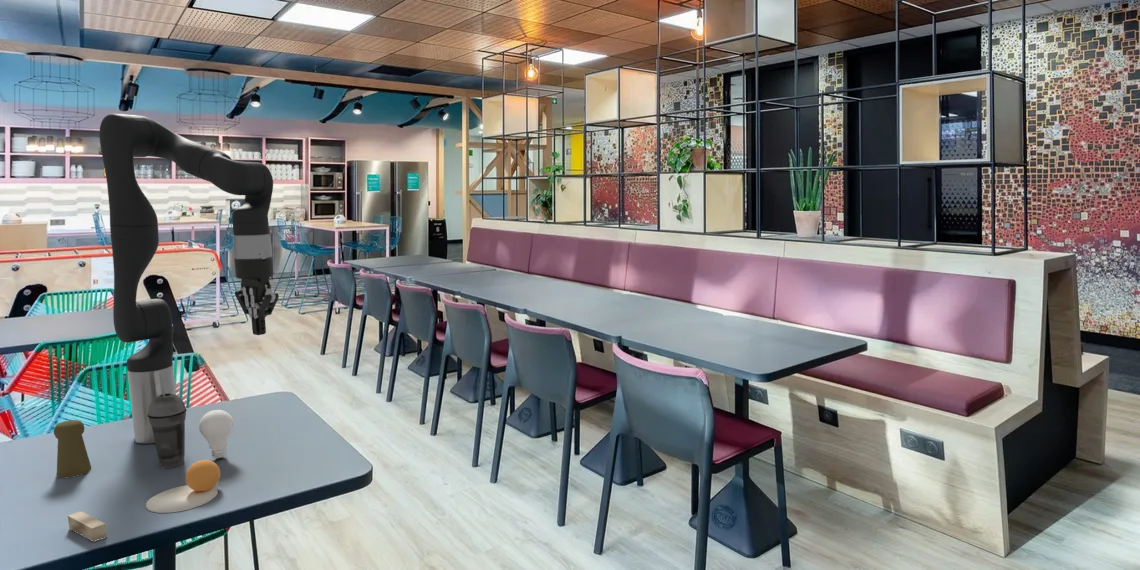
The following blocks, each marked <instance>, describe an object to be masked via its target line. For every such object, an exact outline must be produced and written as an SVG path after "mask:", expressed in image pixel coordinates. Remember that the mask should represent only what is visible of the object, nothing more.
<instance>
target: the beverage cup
mask: <svg viewBox="0 0 1140 570" xmlns="http://www.w3.org/2000/svg"><path fill="white" fill-rule="evenodd" d="M159 376H160V383H161V389H162V395H159V396H158V397H156V398H155V399H154V400H153V401H152V402H151V404H150V406H149V409H148V417H149V421H150V424H151V426H152V430H153V435H154V440H155V443H154V444H155V449H156V454H157V457H158V458H157V459H158V461H159V465H160V468H161V469H173V468H177V467H179V466H182V465H184V463H185V456H186V455H185V454H186V453H185V450H186V449H185V448H186V447H185V444H186V442H185V441H186V439H185V438H186V437H185V436H186V434H185V432H186V431H185V429H186V428H185V425H186V424H185V422H186V421H185V420H186V418H187V413H186V412H187V411H188V410H187V408H186V405H185V402H184V400H183V399H182V398H181V397H180V396H178V395H177V394H176V395H174V394H169V393H168V394H165V390H164V384H163V378H162V373H160V374H159Z"/></svg>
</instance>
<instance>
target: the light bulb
mask: <svg viewBox="0 0 1140 570" xmlns="http://www.w3.org/2000/svg"><path fill="white" fill-rule="evenodd" d="M198 426H199V427H198V429H199V432H200V434H201V435H202V437H203V438H204V439H205V440H206V442H207V443H208V446H209V447H208V448H209V449H210V450H211V451H210V452H211V458H213V459H215V460H220V459H223V458H224V457H225V456H226V455H227V449H226V448H227V446H228V439H229V436H230V434H231V433H232V431H233V428H234V420H233V417H232V415H231V414H229V412H227V411H225V410H222V409H213V410H210V411H208V412H206V413H205V414H204V415H203V416H202V417H201V418H200V421H199V424H198Z"/></svg>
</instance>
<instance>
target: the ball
mask: <svg viewBox="0 0 1140 570" xmlns="http://www.w3.org/2000/svg"><path fill="white" fill-rule="evenodd" d="M220 470H221V469H220V467H219V466H218V464H217V463H215V462H214V461H212V460H209V459H200V460H198V461H196V462H193V464H191V465H190V466H189V467H188V469H187V470H186V474H185V483H186V485H188V486H189V487H190V488H191V489H192V490H195V491H198V492H203V491H207V490H210V489H211V488H213V487H216V485H217V484H218V483H219V481H220V479H221V471H220Z"/></svg>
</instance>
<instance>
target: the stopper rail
mask: <svg viewBox="0 0 1140 570" xmlns="http://www.w3.org/2000/svg"><path fill="white" fill-rule="evenodd" d="M67 519H68V520H67V521H68V529H69V528H70V529H72V530H74V531H76V532H78V533H79V534H82V535H83V536H85V537H87V538H89V539H91V540H93V541H95V540H97V539H101V538H104V537H107V538H108V536H107V526H106V523H105V522H103V521H101V520H99V519H97V518H95V517H93V516H91V515H90V514H87V513H86V512H84V511H81V510H80V511H76V512H74V513H71V514H68V515H67ZM70 529H69V530H70ZM72 530H71V531H72ZM74 531H73V532H74ZM76 532H75V533H76ZM79 534H78V535H79ZM83 536H82V537H83ZM85 537H84V538H85ZM104 539H105V538H104Z"/></svg>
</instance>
